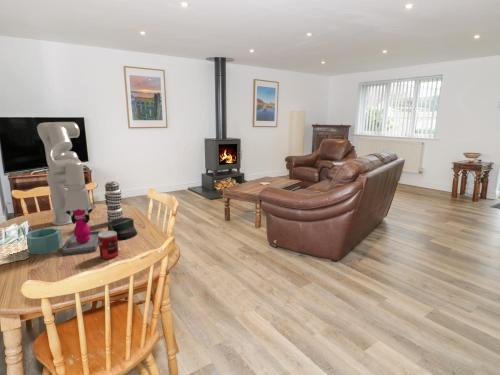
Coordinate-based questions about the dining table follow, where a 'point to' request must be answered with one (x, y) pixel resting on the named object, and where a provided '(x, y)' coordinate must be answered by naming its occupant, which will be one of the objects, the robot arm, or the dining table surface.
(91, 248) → the tray
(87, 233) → the pepper mill
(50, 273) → the dining table surface
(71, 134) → the robot arm
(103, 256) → the canned food
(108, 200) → the gray white banded cylinder
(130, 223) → the black hat
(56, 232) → the crock
